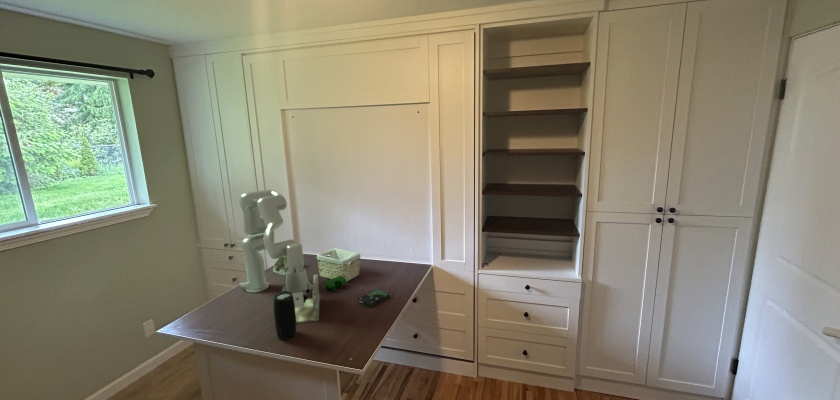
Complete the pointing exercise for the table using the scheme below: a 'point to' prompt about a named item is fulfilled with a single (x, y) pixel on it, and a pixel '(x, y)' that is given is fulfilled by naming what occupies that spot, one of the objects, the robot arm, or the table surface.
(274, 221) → the robot arm
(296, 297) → the mini cabinet
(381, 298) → the disk drive
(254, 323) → the table surface
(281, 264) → the ceramic cottage
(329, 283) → the clamp
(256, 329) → the table surface
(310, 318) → the curved railed panel
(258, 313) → the table surface
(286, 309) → the portable speaker
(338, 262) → the storage basket
